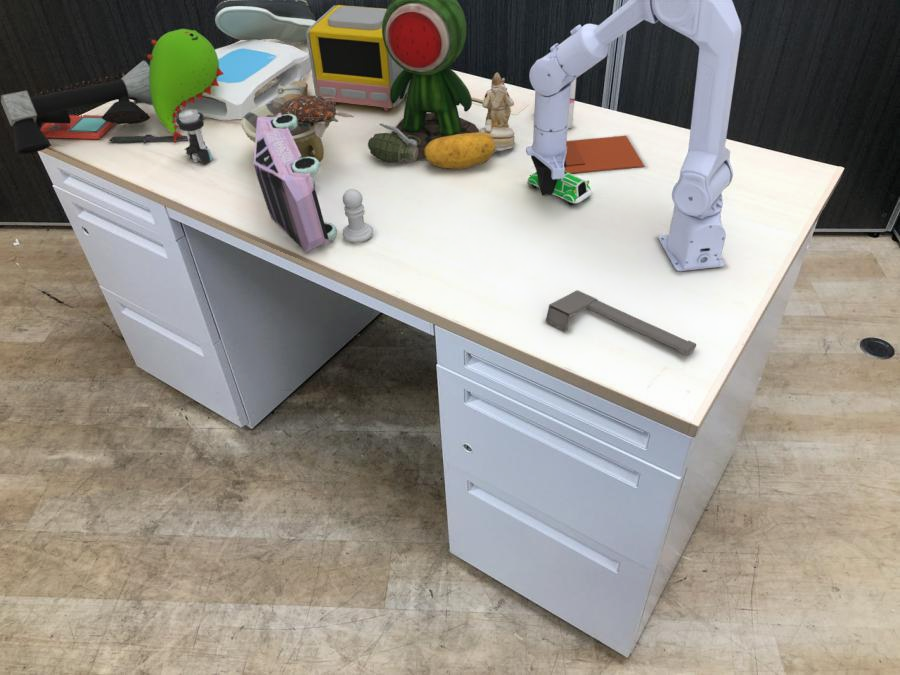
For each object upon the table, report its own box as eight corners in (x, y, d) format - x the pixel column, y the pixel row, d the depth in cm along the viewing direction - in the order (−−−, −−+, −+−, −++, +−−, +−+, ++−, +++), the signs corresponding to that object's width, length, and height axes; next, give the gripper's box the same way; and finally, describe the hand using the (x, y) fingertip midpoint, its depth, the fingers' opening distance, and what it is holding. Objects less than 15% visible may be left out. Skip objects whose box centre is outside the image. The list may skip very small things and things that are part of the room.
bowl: (358, 154, 154) (352, 109, 148) (291, 193, 144) (282, 147, 138) (298, 129, 163) (291, 86, 156) (231, 164, 153) (220, 120, 146)
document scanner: (167, 109, 172) (159, 82, 168) (242, 60, 190) (237, 35, 186) (243, 125, 165) (237, 98, 161) (314, 73, 183) (310, 47, 179)
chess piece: (362, 246, 131) (356, 202, 125) (336, 238, 133) (329, 194, 127) (379, 230, 134) (374, 186, 128) (354, 223, 136) (347, 178, 130)
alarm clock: (314, 107, 170) (300, 24, 158) (342, 77, 181) (331, -3, 169) (397, 117, 166) (390, 31, 153) (420, 85, 177) (415, 3, 164)
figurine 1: (376, 155, 154) (358, -1, 134) (410, 112, 168) (399, -35, 148) (457, 165, 149) (452, 6, 129) (485, 120, 163) (485, -30, 143)
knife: (107, 141, 160) (111, 134, 162) (108, 145, 161) (112, 138, 163) (193, 139, 160) (196, 131, 162) (194, 142, 161) (197, 135, 163)
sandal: (260, 120, 167) (256, 98, 163) (288, 89, 178) (284, 68, 175) (289, 122, 166) (285, 100, 162) (315, 91, 177) (311, 69, 173)
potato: (497, 172, 147) (493, 140, 142) (426, 179, 148) (420, 148, 144) (496, 152, 152) (493, 120, 148) (428, 158, 154) (423, 128, 149)
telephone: (155, 132, 175) (14, 164, 161) (134, 77, 173) (-11, 105, 159) (168, 113, 162) (16, 147, 148) (145, 54, 160) (-11, 82, 146)
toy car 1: (344, 247, 131) (288, 265, 129) (310, 176, 148) (260, 190, 146) (326, 174, 120) (264, 192, 119) (291, 106, 138) (237, 121, 136)
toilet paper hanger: (691, 359, 111) (697, 342, 109) (665, 380, 105) (671, 362, 104) (575, 305, 121) (578, 289, 120) (545, 321, 115) (549, 304, 114)
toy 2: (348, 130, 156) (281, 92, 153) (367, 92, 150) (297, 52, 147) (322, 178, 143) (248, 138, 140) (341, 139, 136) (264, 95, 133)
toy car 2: (593, 198, 140) (596, 177, 137) (576, 209, 138) (578, 188, 135) (542, 175, 146) (543, 155, 144) (525, 186, 144) (526, 165, 141)
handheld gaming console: (53, 113, 170) (117, 114, 168) (55, 118, 171) (118, 120, 169) (31, 132, 163) (97, 134, 162) (33, 137, 164) (99, 139, 162)
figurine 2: (506, 145, 159) (508, 69, 152) (520, 152, 153) (523, 73, 146) (473, 147, 157) (474, 70, 150) (485, 154, 151) (487, 74, 144)
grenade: (376, 114, 151) (424, 125, 149) (375, 148, 156) (421, 159, 154) (363, 126, 146) (412, 137, 144) (362, 161, 151) (410, 173, 149)
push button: (177, 160, 155) (163, 114, 148) (196, 149, 158) (184, 103, 152) (201, 168, 152) (187, 122, 146) (220, 157, 156) (208, 111, 149)
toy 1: (168, 29, 164) (238, 48, 165) (146, 137, 166) (215, 154, 168) (147, 10, 151) (223, 30, 152) (124, 127, 154) (199, 146, 155)
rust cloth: (644, 166, 148) (644, 164, 147) (552, 175, 146) (552, 172, 146) (625, 136, 156) (626, 134, 156) (538, 144, 155) (539, 142, 155)
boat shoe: (207, 34, 177) (194, -1, 178) (300, 53, 201) (288, 22, 202) (236, 5, 171) (222, -31, 171) (328, 28, 195) (315, -4, 196)
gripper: (519, 106, 135) (517, 174, 144) (536, 147, 124) (532, 217, 133) (558, 103, 135) (554, 171, 144) (579, 143, 125) (572, 213, 134)
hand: (546, 193), depth 139 cm, fingers closed
